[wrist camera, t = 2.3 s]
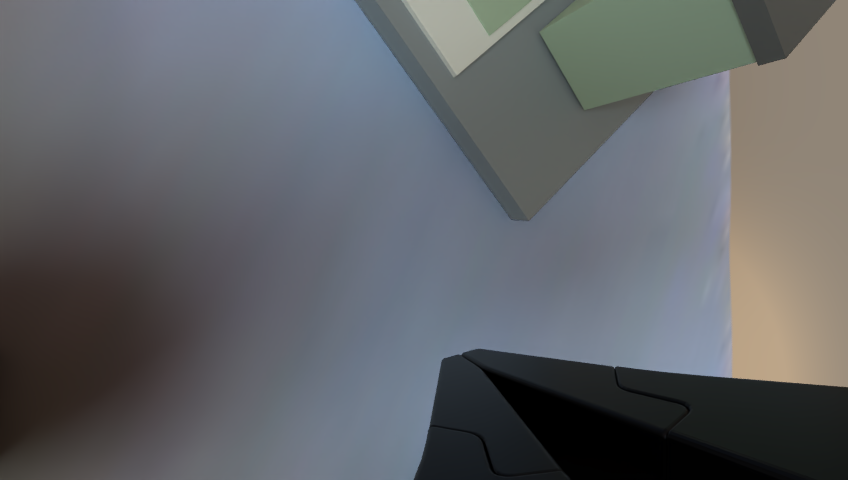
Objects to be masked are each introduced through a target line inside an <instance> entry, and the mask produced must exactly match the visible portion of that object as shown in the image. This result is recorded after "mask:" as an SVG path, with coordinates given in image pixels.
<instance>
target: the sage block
mask: <svg viewBox="0 0 848 480" xmlns="http://www.w3.org/2000/svg"><path fill="white" fill-rule="evenodd" d="M834 2H835V0H575V1H574V2H573V3H572V4H570V5H569V6H568V7H567V8H566V9H565V10H564V11H563V12H561V13H560V14H559V15H558V16H557V17H556V18H555V19H553V20H552V21H551V22H550V23H549V24H548V25H547V26H545V27H544V28H543V29H542V30H541V31H540V32H539V33H540V34H541V36H542V38H543V39H544V41H545V43H546V45H547V46H548V48H549V50H550V52H551V53H552V55H553V57H554V58H555V60H556V62H557V64H558V65H559V67H560V69H561V71H562V72H563V74H564V76H565V77H566V79H567V81H568V83H569V84H570V86H571V88H572V90H573V91H574V93H575V95H576V97H577V98H578V100H579V102H580V103H581V105H582V107H583V109H584V110H587V109H591V108H594V107H598V106H601V105H605V104H609V103H612V102H616V101H619V100H623V99H626V98H630V97H634V96H637V95H641V94H644V93H648V92H651V91H655V90H659V89H662V88H666V87H669V86H673V85H676V84H680V83H684V82H687V81H691V80H694V79H698V78H701V77H705V76H709V75H712V74H716V73H719V72H723V71H726V70H730V69H734V68H737V67H740V66H744V65H748V64H751V63H755V62H757V64H758V65H763V64H766V63H770V62H774V61H777V60H781V59H785V58H787V56H788V55H789V54H790V53H791V52H792V51H793V49H794V48H795V47H796V46H797V45H798V43H800V41H801V40H802V39H803V38H804V37H805V35H806V34H807V33H808V32H809V31H810V30H811V29H812V27H813V26H814V25H815V24H816V23H817V22H818V20H819V19H820V18H821V17H822V16H823V15H824V13H825V12H826V11H827V10H828V9H829V7H831V5H832V4H833V3H834Z"/></svg>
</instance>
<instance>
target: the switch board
mask: <svg viewBox="0 0 848 480" xmlns="http://www.w3.org/2000/svg"><path fill="white" fill-rule="evenodd" d="M355 1H356V2H357V4H358V5H359V7H360V8H361V9H362V11H363V12H364V14H365V15H366V16H367V18H368V19H369V21H370V22H371V23H372V25H373V26H374V28H375V29H376V30H377V32H378V33H379V35H380V36H381V37H382V39H383V40H384V42H385V43H386V44H387V46H388V47H389V49H390V50H391V51H392V53H393V54H394V56H395V57H396V58H397V60H398V61H399V63H400V64H401V66H402V67H403V68H404V70H405V71H406V73H407V74H408V75H409V77H410V78H411V80H412V81H413V82H414V84H415V85H416V87H417V88H418V89H419V91H420V92H421V94H422V95H423V96H424V98H425V99H426V101H427V102H428V103H429V105H430V106H431V108H432V109H433V110H434V112H435V113H436V115H437V116H438V117H439V119H440V120H441V122H442V123H443V124H444V126H445V127H446V129H447V130H448V131H449V133H450V134H451V136H452V137H453V138H454V140H455V141H456V143H457V144H458V145H459V147H460V148H461V150H462V151H463V152H464V154H465V155H466V157H467V158H468V159H469V161H470V162H471V164H472V165H473V166H474V168H475V169H476V171H477V172H478V173H479V175H480V176H481V178H482V179H483V180H484V182H485V183H486V185H487V186H488V187H489V189H490V190H491V192H492V193H493V194H494V196H495V197H496V199H497V200H498V201H499V203H500V204H501V206H502V207H503V209H504V210H505V211H506V213H507V214H508V216H509V217H510V218H511V220H522V221H529V220H530V219H531V218H532V217H533V216H534V215H535V214H536V213H537V212H538V211H539V210H540V209H541V208H542V207H543V206H544V205H545V204H546V203H547V202H548V201H549V200H550V199H551V198H552V196H553V195H554V194H555V193H556V192H557V191H558V190H559V189H560V188H561V187H562V186H563V185H564V184H565V183H566V182H567V181H568V180H569V179H570V178H571V177H572V176H573V175H574V174H575V173H576V172H577V170H578V169H579V168H580V167H581V166H582V165H583V164H584V163H585V162H586V161H587V160H588V159H589V158H590V157H591V156H592V155H593V154H594V153H595V152H596V151H597V150H598V149H599V148H600V147H601V146H602V144H603V143H604V142H605V141H606V140H607V139H608V138H609V137H610V136H611V135H612V134H613V133H614V132H615V131H616V130H617V129H618V128H619V127H620V126H621V125H622V124H623V123H624V122H625V121H626V120H627V119H628V117H629V116H630V115H631V114H632V113H633V112H634V111H635V110H636V109H637V108H638V107H639V106H640V105H641V104H642V103H643V102H644V101H645V100H646V99H647V98H648V97H649V96H650V95H651V94H652V93H653V91H651V92H648V93H644V94H641V95H637V96H634V97H630V98H626V99H623V100H619V101H616V102H612V103H609V104H605V105H601V106H598V107H594V108H591V109H587V110H584V109H583V107H582V105H581V103H580V102H579V100H578V98H577V97H576V95H575V93H574V91H573V90H572V88H571V86H570V84H569V83H568V81H567V79H566V77H565V76H564V74H563V72H562V71H561V69H560V67H559V65H558V64H557V62H556V60H555V58H554V57H553V55H552V53H551V52H550V50H549V48H548V46H547V45H546V43H545V41H544V39H543V38H542V36H541V34H540V33H539V32H540V31H541V30H542V29H543V28H544V27H545V26H547V25H548V24H549V23H550V22H551V21H552V20H553V19H555V18H556V17H557V16H558V15H559V14H560V13H561V12H563V11H564V10H565V9H566V8H567V7H568V6H569V5H570V4H572V3H573V2H574V1H575V0H355Z"/></svg>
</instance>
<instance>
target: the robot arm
mask: <svg viewBox="0 0 848 480" xmlns="http://www.w3.org/2000/svg"><path fill="white" fill-rule="evenodd" d="M414 480H848V387H837V386H825V385H812V384H799V383H787V382H774V381H762V380H750V379H738V378H725V377H713V376H701V375H690V374H679V373H668V372H659V371H650V370H642V369H633V368H626V367H618V366H617V367H615V369H614V367H612V366H605V365H597V364H590V363H582V362H575V361H567V360H560V359H552V358H545V357H537V356H530V355H522V354H515V353H507V352H500V351H492V350H485V349H475V350H471V351H468V352H464V353H463V354H462V355H454V356H451V357H447V358H444V359H443V360H442V362H441V367H440V373H439V378H438V384H437V389H436V394H435V400H434V405H433V411H432V416H431V421H430V427H429V430H428V435H427V440H426V444H425V448H424V452H423V456H422V459H421V462H420V464H419V467H418V470H417V473H416V475H415V478H414Z"/></svg>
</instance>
